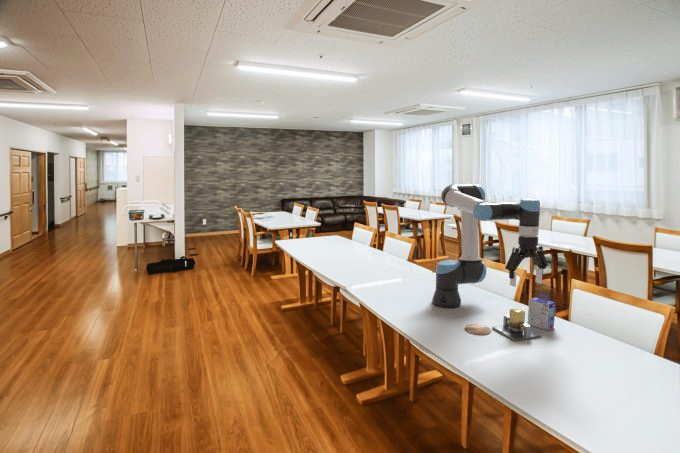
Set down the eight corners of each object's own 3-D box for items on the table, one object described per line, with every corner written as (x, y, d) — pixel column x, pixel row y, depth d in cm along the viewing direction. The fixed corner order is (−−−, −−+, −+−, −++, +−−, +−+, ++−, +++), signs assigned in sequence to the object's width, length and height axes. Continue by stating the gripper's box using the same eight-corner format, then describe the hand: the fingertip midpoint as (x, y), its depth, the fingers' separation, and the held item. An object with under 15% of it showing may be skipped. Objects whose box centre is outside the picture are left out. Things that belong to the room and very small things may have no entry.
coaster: (460, 326, 177) (460, 325, 177) (480, 324, 180) (480, 322, 180) (474, 336, 166) (474, 334, 166) (496, 333, 169) (496, 331, 169)
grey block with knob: (492, 328, 174) (492, 316, 173) (518, 325, 178) (518, 313, 177) (514, 341, 160) (514, 328, 160) (541, 337, 164) (542, 324, 163)
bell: (503, 323, 173) (503, 308, 172) (514, 321, 174) (515, 306, 173) (519, 331, 163) (519, 315, 162) (530, 329, 165) (531, 314, 164)
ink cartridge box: (554, 328, 174) (556, 297, 172) (547, 331, 171) (549, 299, 169) (533, 321, 182) (535, 292, 180) (527, 324, 179) (528, 294, 177)
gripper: (510, 238, 155) (508, 289, 158) (559, 235, 162) (555, 283, 165) (497, 236, 162) (495, 284, 165) (544, 232, 169) (542, 279, 172)
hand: (525, 284), depth 165 cm, fingers open, 13 cm apart
